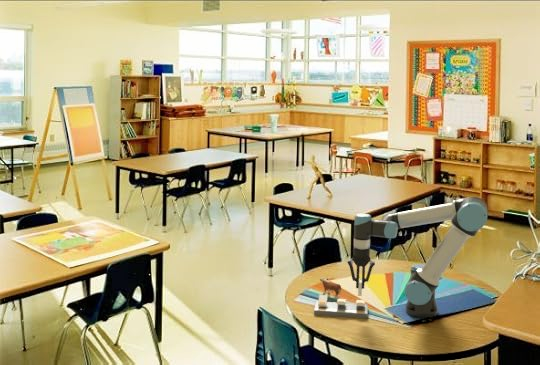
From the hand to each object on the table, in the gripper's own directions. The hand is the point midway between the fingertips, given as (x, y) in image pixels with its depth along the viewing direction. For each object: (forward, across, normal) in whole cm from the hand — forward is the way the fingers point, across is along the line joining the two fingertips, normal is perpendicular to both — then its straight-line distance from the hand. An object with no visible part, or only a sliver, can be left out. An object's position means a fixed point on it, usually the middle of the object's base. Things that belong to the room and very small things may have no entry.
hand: (359, 294), depth 279 cm
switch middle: (+5, +9, -3) cm, 11 cm away
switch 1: (+6, +18, -3) cm, 19 cm away
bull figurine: (+10, +16, -22) cm, 29 cm away
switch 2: (+5, 0, -3) cm, 6 cm away
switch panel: (+10, +9, -2) cm, 13 cm away
